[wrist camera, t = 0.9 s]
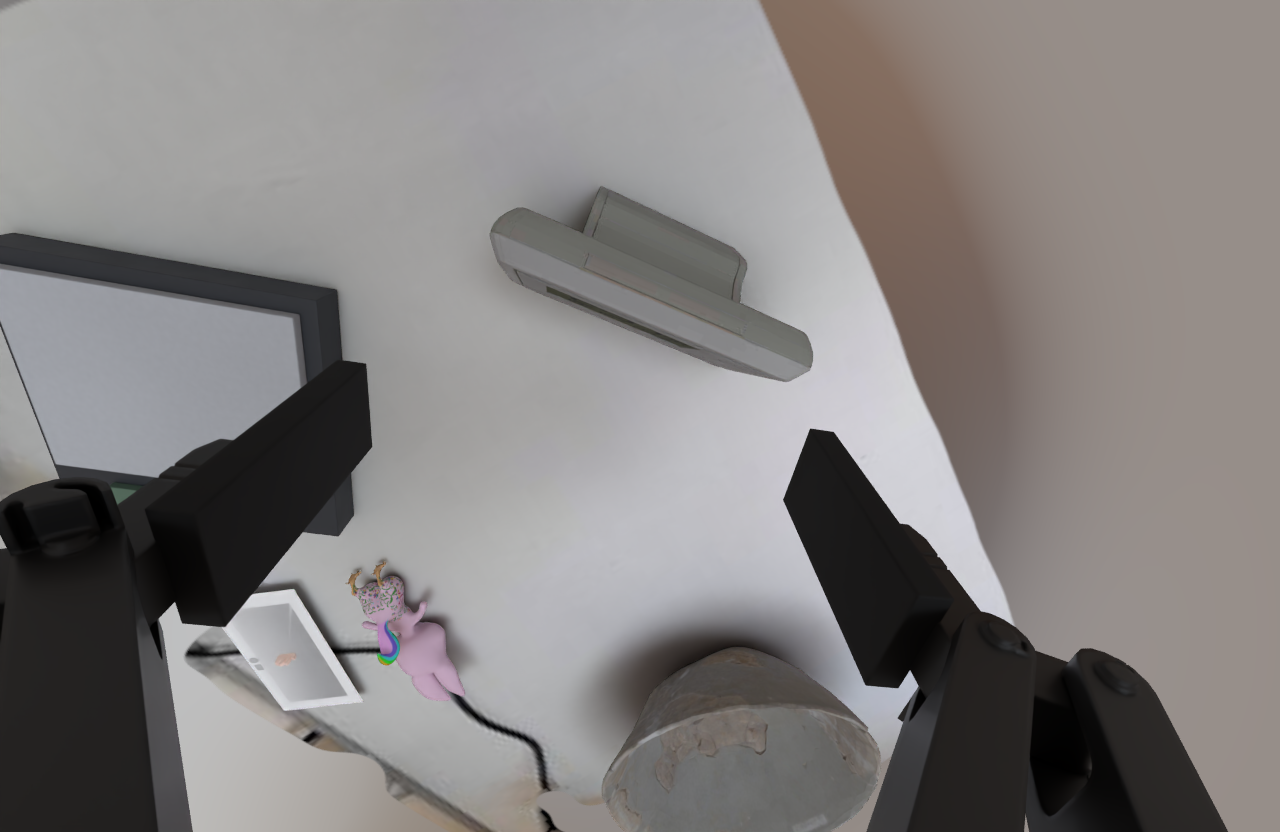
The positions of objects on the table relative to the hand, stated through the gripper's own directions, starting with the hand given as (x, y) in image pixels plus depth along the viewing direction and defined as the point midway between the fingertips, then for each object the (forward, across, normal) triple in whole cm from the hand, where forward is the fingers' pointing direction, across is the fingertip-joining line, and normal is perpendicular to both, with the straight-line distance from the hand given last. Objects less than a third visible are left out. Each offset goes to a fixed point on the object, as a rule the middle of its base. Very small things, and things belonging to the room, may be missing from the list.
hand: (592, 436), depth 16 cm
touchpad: (+20, -23, -37) cm, 48 cm away
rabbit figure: (+20, -12, -32) cm, 40 cm away
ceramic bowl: (+20, +17, -37) cm, 45 cm away
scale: (+19, -26, -12) cm, 34 cm away
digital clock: (+20, +2, 0) cm, 20 cm away
